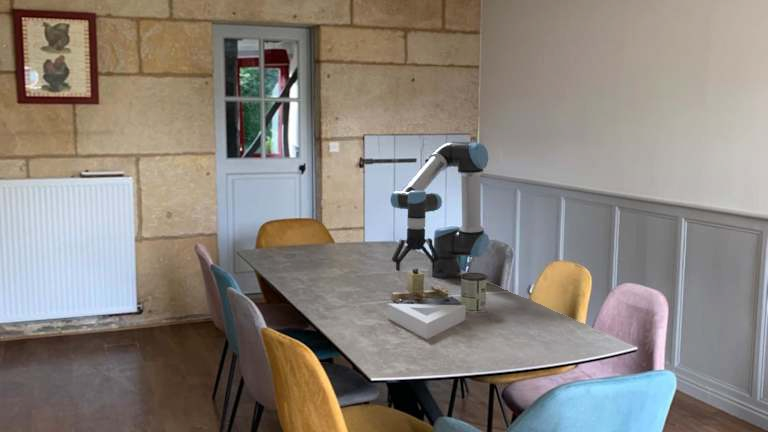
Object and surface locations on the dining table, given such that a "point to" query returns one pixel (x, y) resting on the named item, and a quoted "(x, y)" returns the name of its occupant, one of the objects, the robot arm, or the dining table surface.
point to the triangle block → (426, 317)
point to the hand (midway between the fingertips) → (414, 277)
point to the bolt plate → (431, 301)
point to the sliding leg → (416, 282)
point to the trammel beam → (433, 293)
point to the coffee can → (473, 292)
